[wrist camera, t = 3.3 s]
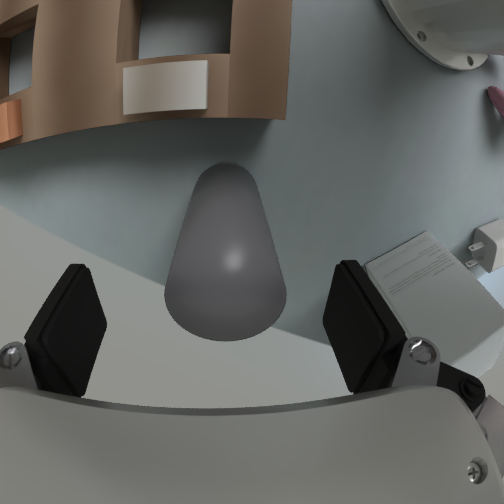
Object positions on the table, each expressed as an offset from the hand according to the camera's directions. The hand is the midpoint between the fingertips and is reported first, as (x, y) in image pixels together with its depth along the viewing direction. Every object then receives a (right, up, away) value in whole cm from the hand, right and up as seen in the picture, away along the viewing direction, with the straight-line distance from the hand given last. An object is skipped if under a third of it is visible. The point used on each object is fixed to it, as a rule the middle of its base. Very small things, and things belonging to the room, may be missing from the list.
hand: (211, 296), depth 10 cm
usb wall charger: (+27, +3, +14) cm, 30 cm away
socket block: (-9, +16, +2) cm, 18 cm away
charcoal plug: (0, +6, +9) cm, 11 cm away
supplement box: (+16, 0, +15) cm, 22 cm away
